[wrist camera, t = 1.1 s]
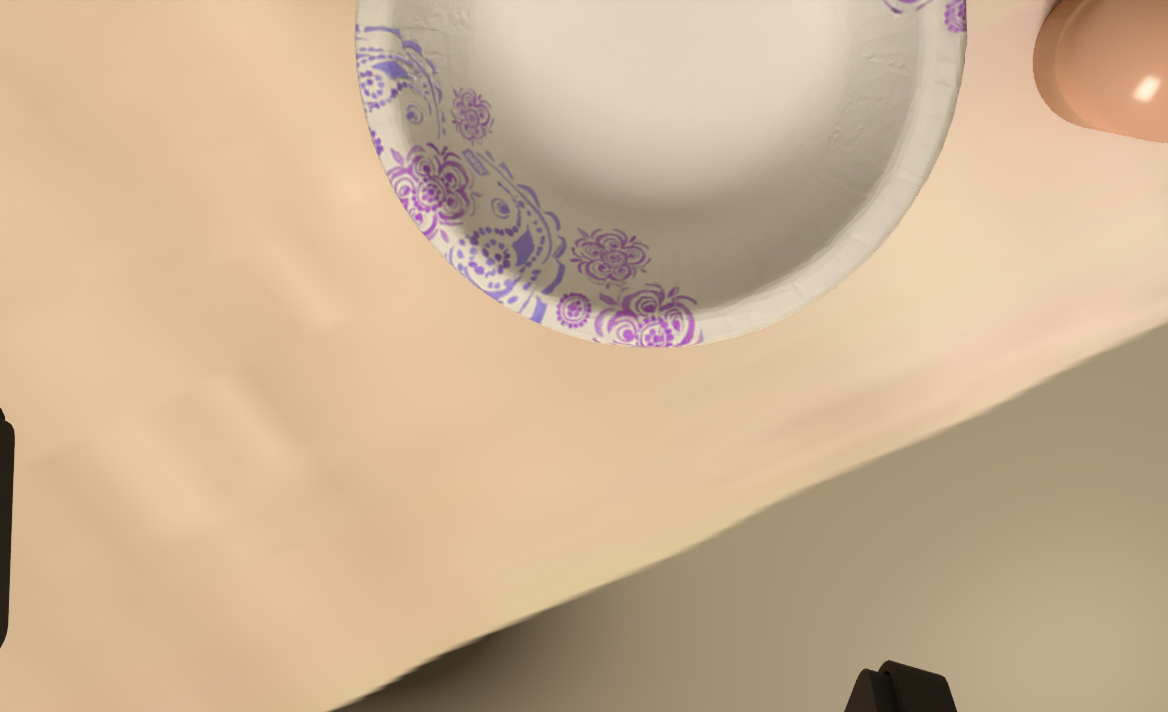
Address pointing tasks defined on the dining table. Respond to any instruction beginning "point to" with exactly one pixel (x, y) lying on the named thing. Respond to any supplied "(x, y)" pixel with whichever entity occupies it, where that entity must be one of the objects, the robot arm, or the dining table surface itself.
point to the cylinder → (1106, 65)
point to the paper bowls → (658, 148)
